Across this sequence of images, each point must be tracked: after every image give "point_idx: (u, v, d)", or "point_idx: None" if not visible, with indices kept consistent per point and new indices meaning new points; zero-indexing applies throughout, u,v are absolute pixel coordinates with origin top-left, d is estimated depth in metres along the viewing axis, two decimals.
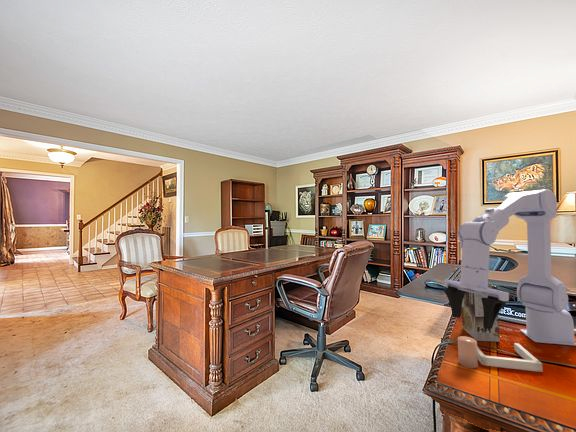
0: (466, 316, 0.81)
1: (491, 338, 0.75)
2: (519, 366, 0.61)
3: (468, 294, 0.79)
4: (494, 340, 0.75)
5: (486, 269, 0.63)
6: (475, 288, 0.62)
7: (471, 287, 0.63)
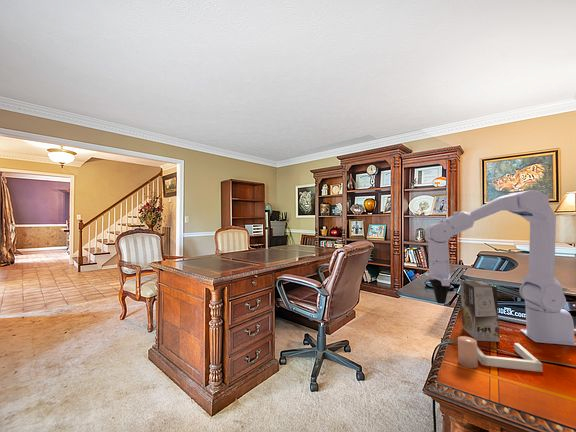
0: (466, 316, 0.81)
1: (491, 338, 0.75)
2: (519, 366, 0.61)
3: (469, 294, 0.79)
4: (494, 340, 0.75)
5: (441, 261, 0.80)
6: (432, 276, 0.81)
7: (430, 275, 0.82)
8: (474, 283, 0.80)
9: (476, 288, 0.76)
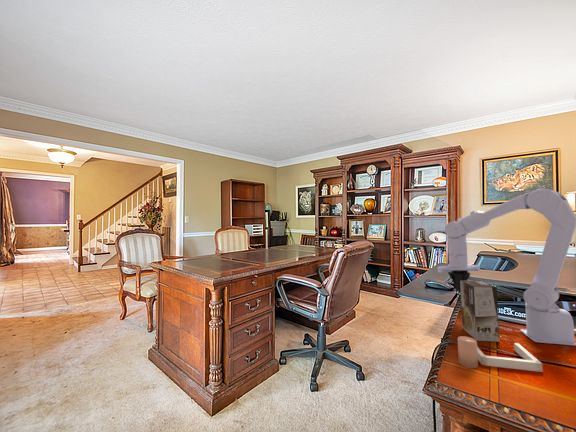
0: (466, 316, 0.81)
1: (491, 338, 0.75)
2: (519, 366, 0.61)
3: (469, 294, 0.79)
4: (494, 340, 0.75)
5: (449, 254, 0.94)
6: None
7: None
8: (474, 283, 0.80)
9: (476, 288, 0.76)
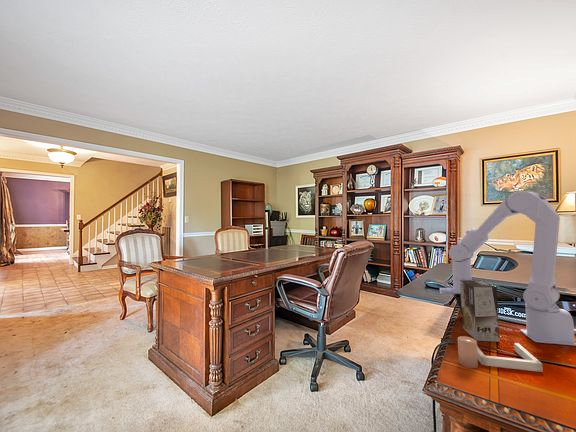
0: (466, 316, 0.81)
1: (491, 338, 0.75)
2: (519, 366, 0.61)
3: (469, 294, 0.79)
4: (494, 340, 0.75)
5: (453, 276, 0.94)
6: None
7: None
8: (474, 283, 0.80)
9: (476, 288, 0.76)
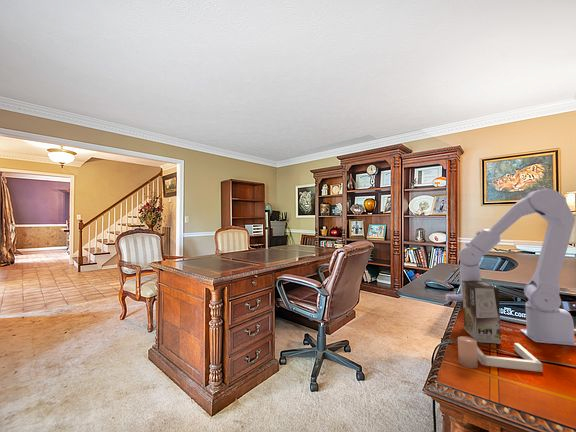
0: (467, 317, 0.80)
1: (492, 340, 0.74)
2: (519, 366, 0.61)
3: (470, 295, 0.78)
4: (495, 342, 0.74)
5: (460, 282, 0.86)
6: None
7: None
8: (476, 284, 0.78)
9: (477, 289, 0.75)
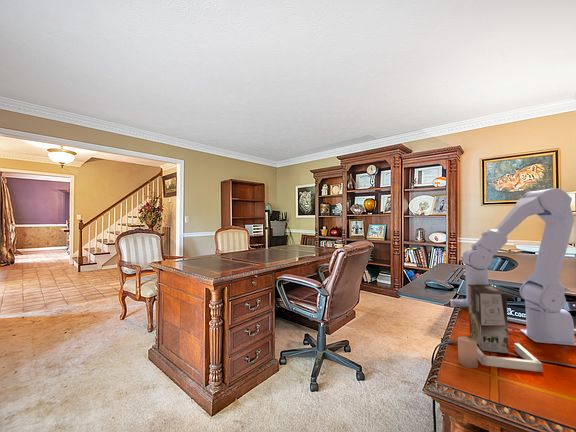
0: (473, 323, 0.75)
1: (499, 349, 0.69)
2: (519, 366, 0.61)
3: (475, 301, 0.73)
4: (502, 351, 0.69)
5: (466, 286, 0.81)
6: None
7: None
8: (482, 288, 0.73)
9: (483, 294, 0.70)
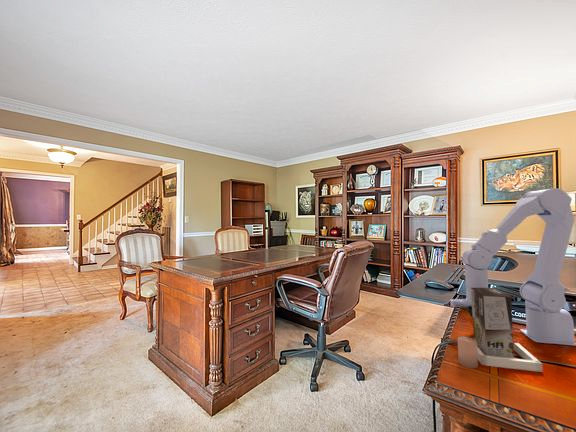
0: (476, 327, 0.73)
1: (504, 354, 0.66)
2: (519, 366, 0.61)
3: (479, 304, 0.70)
4: (507, 357, 0.66)
5: (466, 286, 0.81)
6: None
7: None
8: (486, 291, 0.71)
9: (486, 297, 0.68)
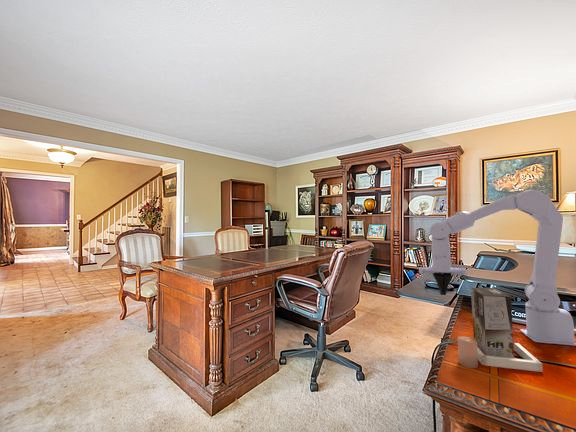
0: (476, 327, 0.73)
1: (504, 354, 0.66)
2: (519, 366, 0.61)
3: (479, 304, 0.70)
4: (507, 357, 0.66)
5: (432, 255, 0.92)
6: None
7: None
8: (486, 291, 0.71)
9: (486, 297, 0.68)
